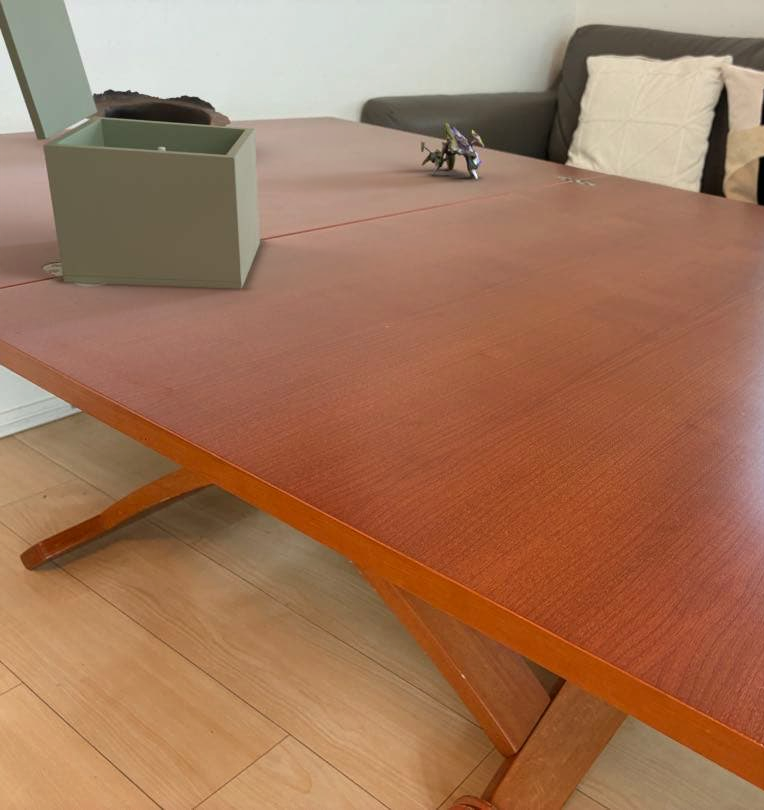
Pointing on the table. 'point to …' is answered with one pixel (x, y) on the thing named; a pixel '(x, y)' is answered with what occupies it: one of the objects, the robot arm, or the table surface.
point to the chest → (155, 203)
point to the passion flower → (455, 151)
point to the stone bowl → (156, 108)
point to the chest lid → (46, 64)
